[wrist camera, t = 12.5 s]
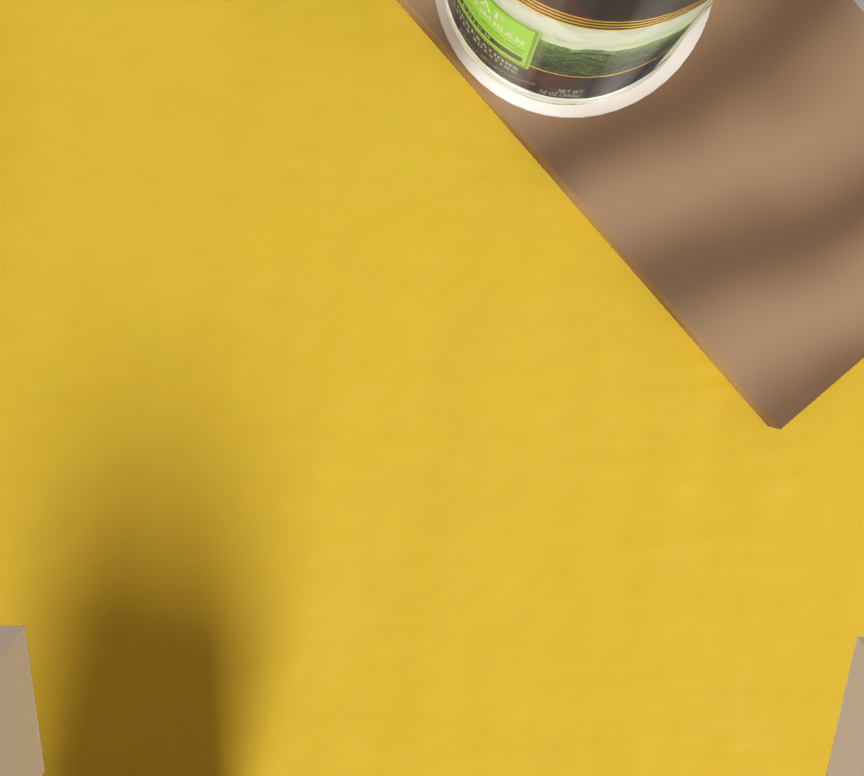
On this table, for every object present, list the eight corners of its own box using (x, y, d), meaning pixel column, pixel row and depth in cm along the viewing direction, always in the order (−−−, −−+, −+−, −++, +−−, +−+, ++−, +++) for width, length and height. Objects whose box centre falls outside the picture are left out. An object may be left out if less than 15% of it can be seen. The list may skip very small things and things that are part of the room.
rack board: (352, -51, 33) (343, -93, 29) (613, -294, 32) (633, -365, 29) (768, 425, 34) (802, 435, 30) (1029, 200, 33) (1093, 185, 30)
